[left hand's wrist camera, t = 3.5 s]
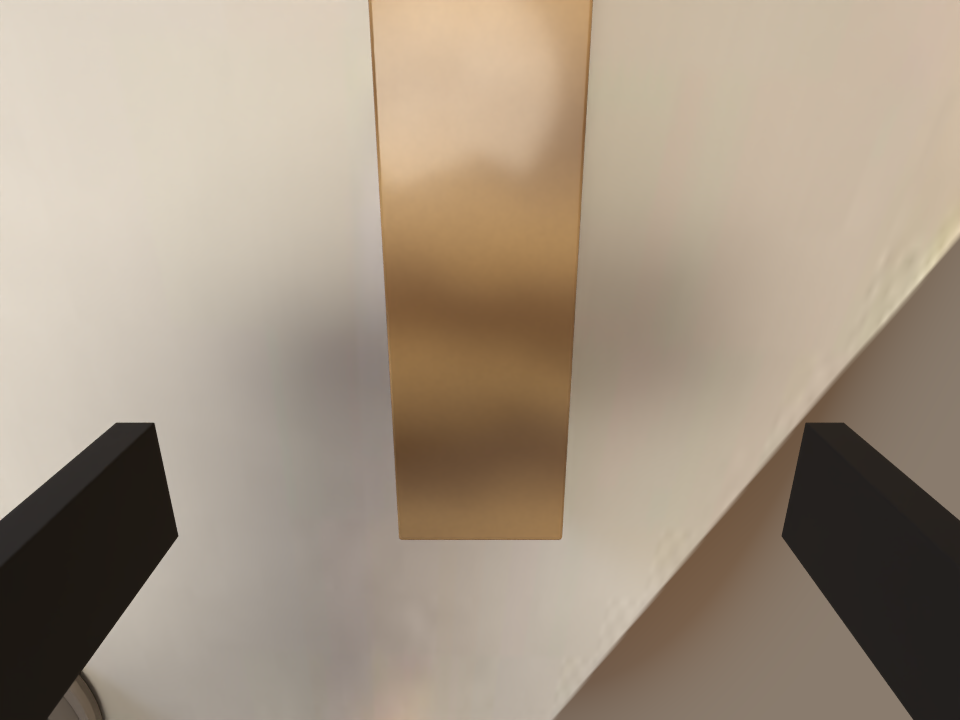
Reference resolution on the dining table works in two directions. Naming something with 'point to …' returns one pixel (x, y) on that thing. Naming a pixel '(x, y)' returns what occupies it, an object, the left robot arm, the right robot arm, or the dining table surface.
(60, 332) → the dining table surface
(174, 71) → the dining table surface
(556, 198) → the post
